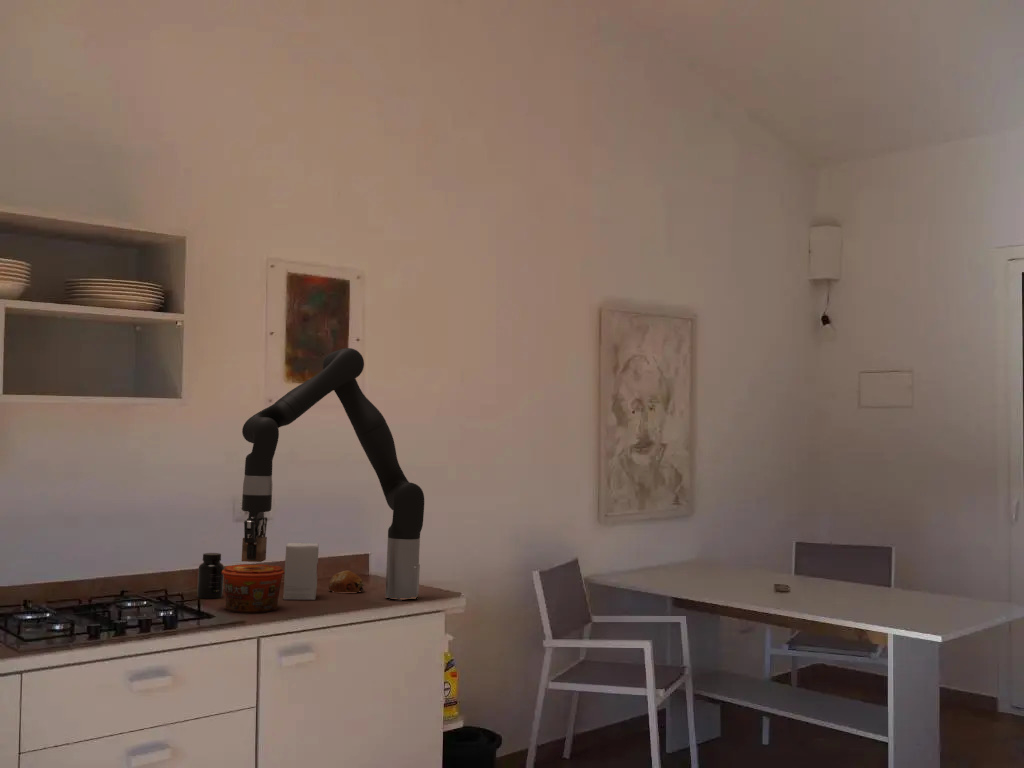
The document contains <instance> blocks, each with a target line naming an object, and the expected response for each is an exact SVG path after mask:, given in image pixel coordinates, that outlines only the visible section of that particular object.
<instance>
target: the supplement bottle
mask: <svg viewBox="0 0 1024 768" xmlns="http://www.w3.org/2000/svg"><path fill="white" fill-rule="evenodd" d="M202 561H203V562H202V563H200V564H199V566H198V573H197V574H198V576H197V590H196V591H197V593H196V594H197V598H199V599H201V600H216V599H221V598H222V597H223V595H224V574H223V575H222V571H223V570H224V569H225V566H224V564H222V563H221V561H222V554H221V553H219V552H206V553H203V554H202Z"/></svg>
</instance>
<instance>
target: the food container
mask: <svg viewBox="0 0 1024 768" xmlns="http://www.w3.org/2000/svg"><path fill="white" fill-rule="evenodd" d="M223 574H224V579H223V587H224V597H225V609H226V610H227V611H229V612H233V613H239V614H251V613H252V614H259V613H268V612H272V611H275V610H277V608H278V603H279V602H278V601H279V596H280V591H281V586H282V585H281V584H282V578H283V575H285V569H283V568H282V567H281V566H279V565H270V564H247V563H246V564H235V565H227V566H224V570H223V571H222V575H223Z"/></svg>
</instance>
